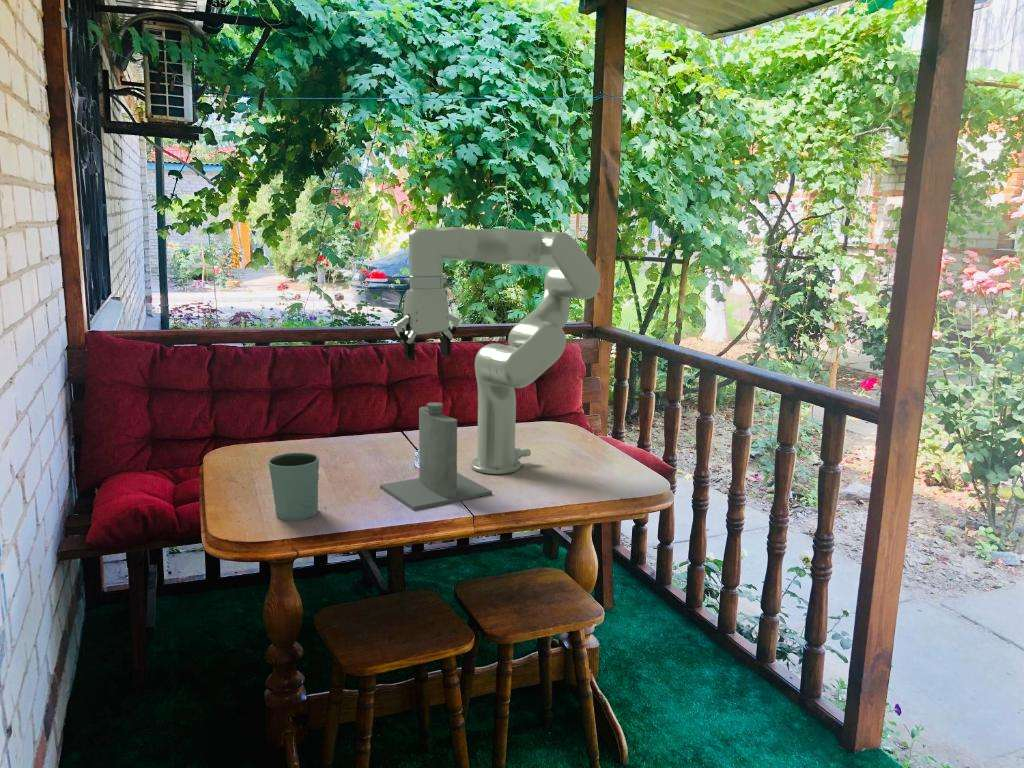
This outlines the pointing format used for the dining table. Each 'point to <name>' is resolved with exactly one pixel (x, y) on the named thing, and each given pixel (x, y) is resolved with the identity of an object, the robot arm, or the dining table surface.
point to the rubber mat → (422, 497)
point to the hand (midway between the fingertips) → (428, 357)
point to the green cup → (295, 485)
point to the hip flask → (438, 450)
